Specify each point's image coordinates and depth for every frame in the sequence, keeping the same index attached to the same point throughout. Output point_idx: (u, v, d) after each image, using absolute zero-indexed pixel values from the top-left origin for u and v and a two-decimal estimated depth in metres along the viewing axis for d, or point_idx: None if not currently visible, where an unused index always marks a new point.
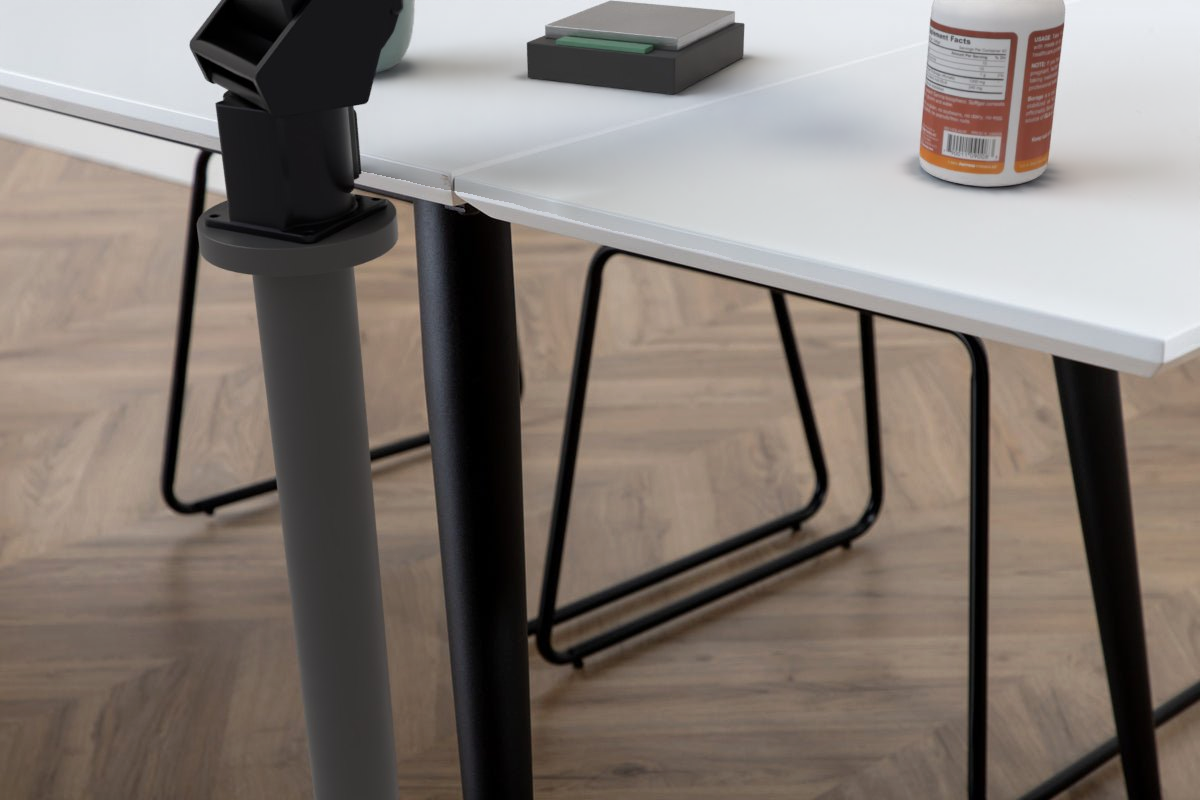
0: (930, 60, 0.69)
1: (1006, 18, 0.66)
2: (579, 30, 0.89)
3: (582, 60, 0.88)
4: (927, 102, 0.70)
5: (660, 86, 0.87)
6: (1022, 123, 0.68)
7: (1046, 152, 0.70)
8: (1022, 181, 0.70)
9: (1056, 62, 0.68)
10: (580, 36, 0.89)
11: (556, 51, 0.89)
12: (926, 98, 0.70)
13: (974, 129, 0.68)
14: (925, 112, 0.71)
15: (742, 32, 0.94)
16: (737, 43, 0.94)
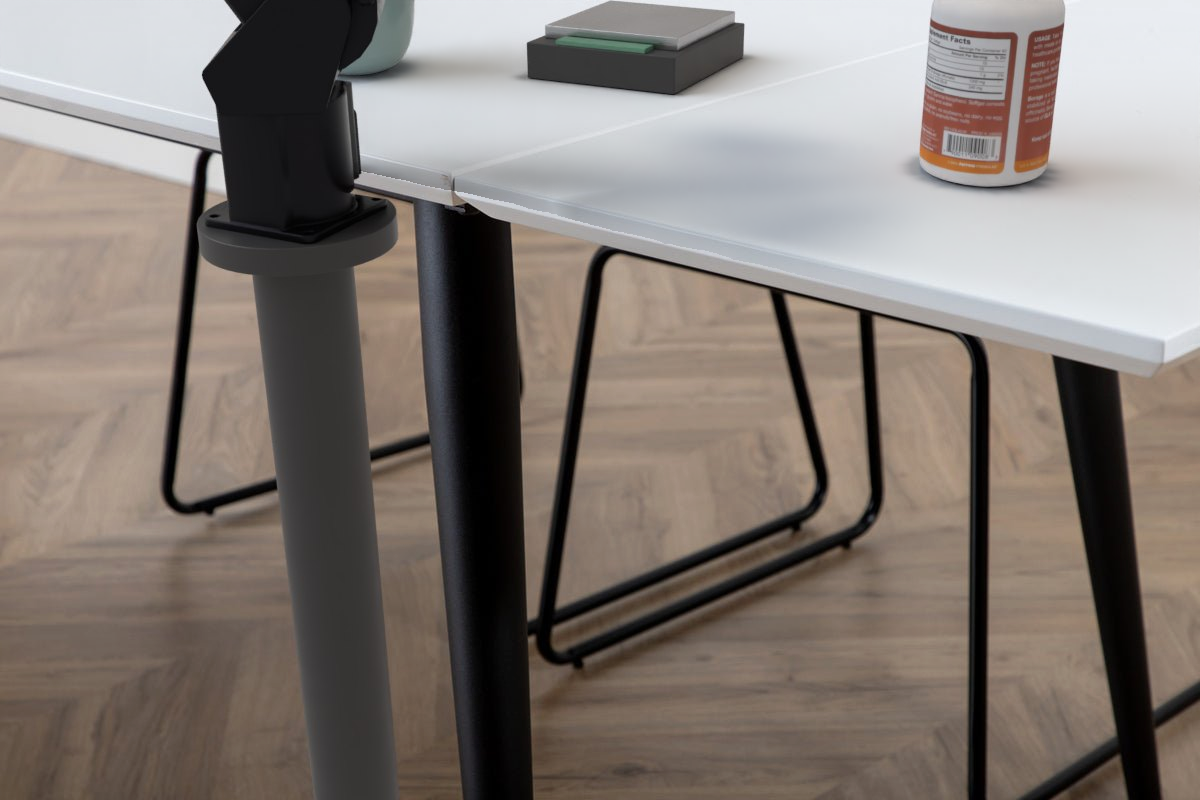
0: (930, 60, 0.69)
1: (1006, 18, 0.66)
2: (579, 30, 0.89)
3: (582, 60, 0.88)
4: (927, 102, 0.70)
5: (660, 86, 0.87)
6: (1022, 123, 0.68)
7: (1046, 152, 0.70)
8: (1022, 181, 0.70)
9: (1056, 62, 0.68)
10: (580, 36, 0.89)
11: (556, 51, 0.89)
12: (926, 98, 0.70)
13: (974, 129, 0.68)
14: (925, 112, 0.71)
15: (742, 32, 0.94)
16: (737, 43, 0.94)
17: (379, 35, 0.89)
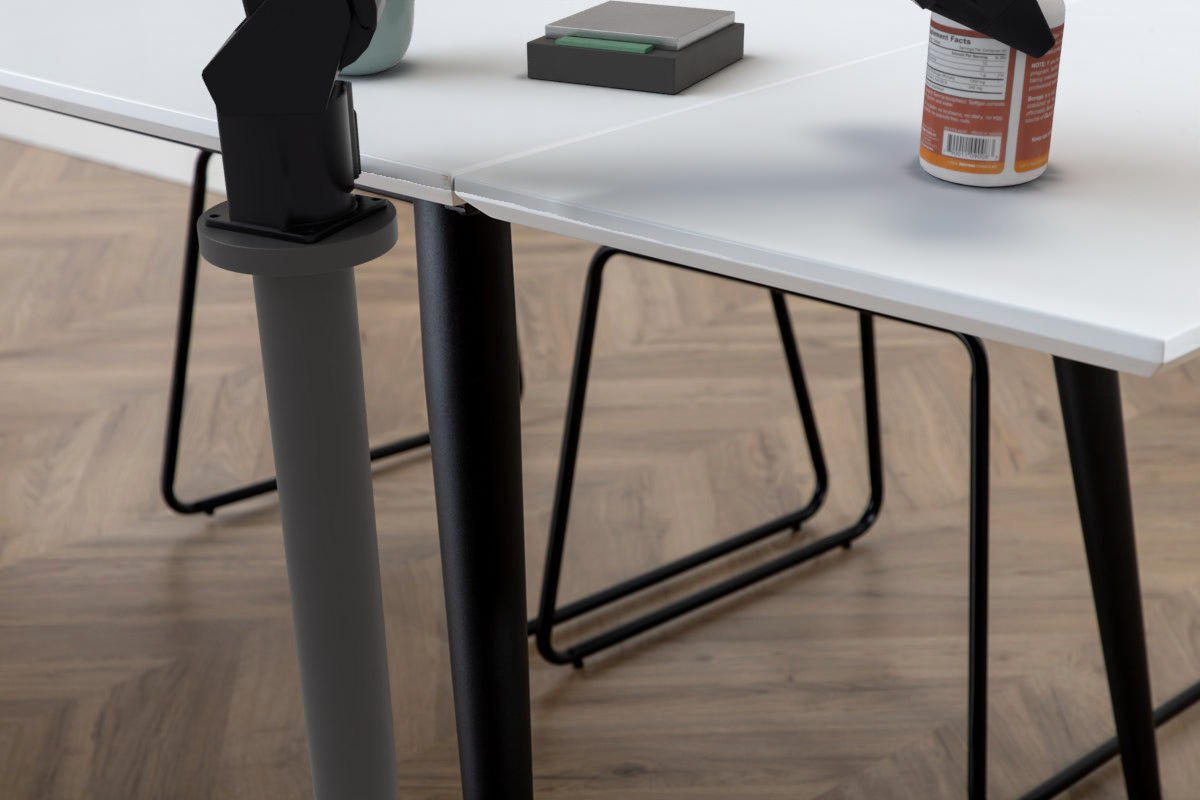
0: (930, 60, 0.69)
1: None
2: (579, 30, 0.89)
3: (582, 60, 0.88)
4: (927, 102, 0.70)
5: (660, 86, 0.87)
6: (1022, 123, 0.68)
7: (1046, 152, 0.70)
8: (1022, 181, 0.70)
9: (1056, 62, 0.68)
10: (580, 36, 0.89)
11: (556, 51, 0.89)
12: (926, 98, 0.70)
13: (974, 129, 0.68)
14: (925, 112, 0.71)
15: (742, 32, 0.94)
16: (737, 43, 0.94)
17: (379, 35, 0.89)
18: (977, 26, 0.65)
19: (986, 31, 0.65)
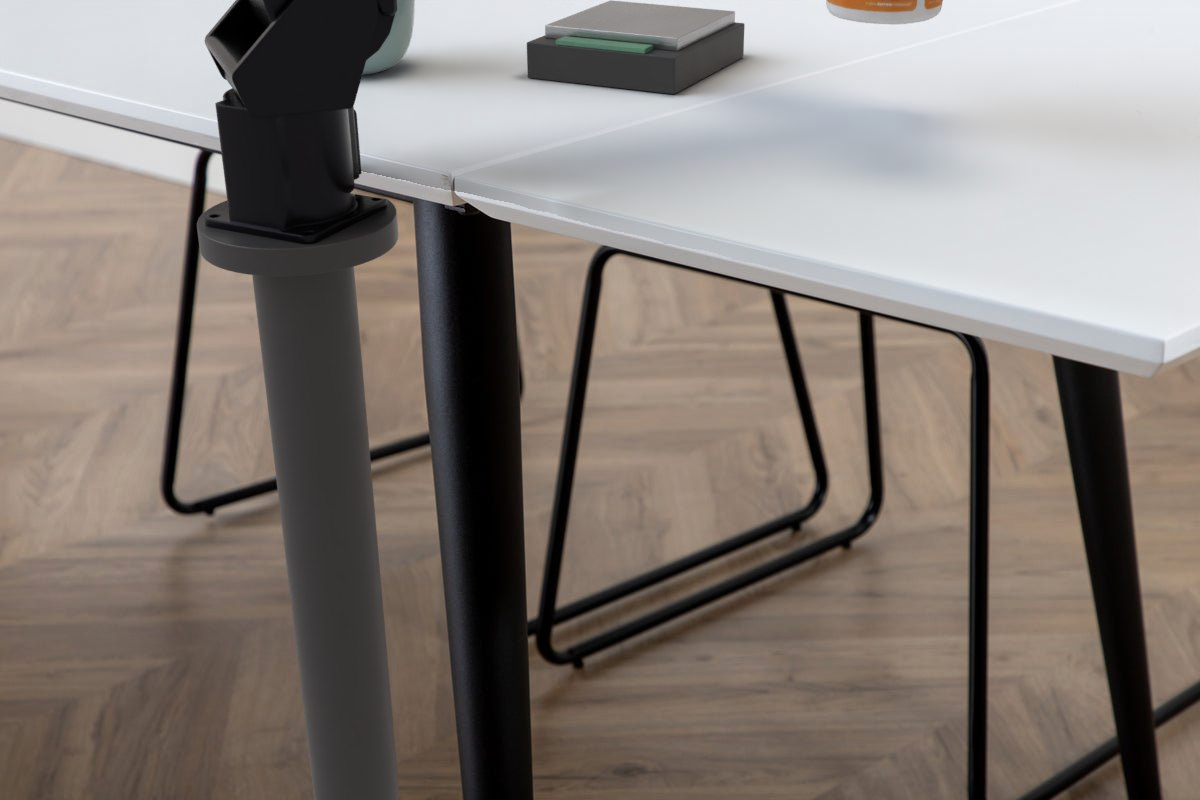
0: None
1: None
2: (579, 30, 0.89)
3: (582, 60, 0.88)
4: None
5: (660, 86, 0.87)
6: None
7: None
8: (929, 17, 0.77)
9: None
10: (580, 36, 0.89)
11: (556, 51, 0.89)
12: None
13: None
14: None
15: (742, 32, 0.94)
16: (737, 43, 0.94)
17: None
18: None
19: None
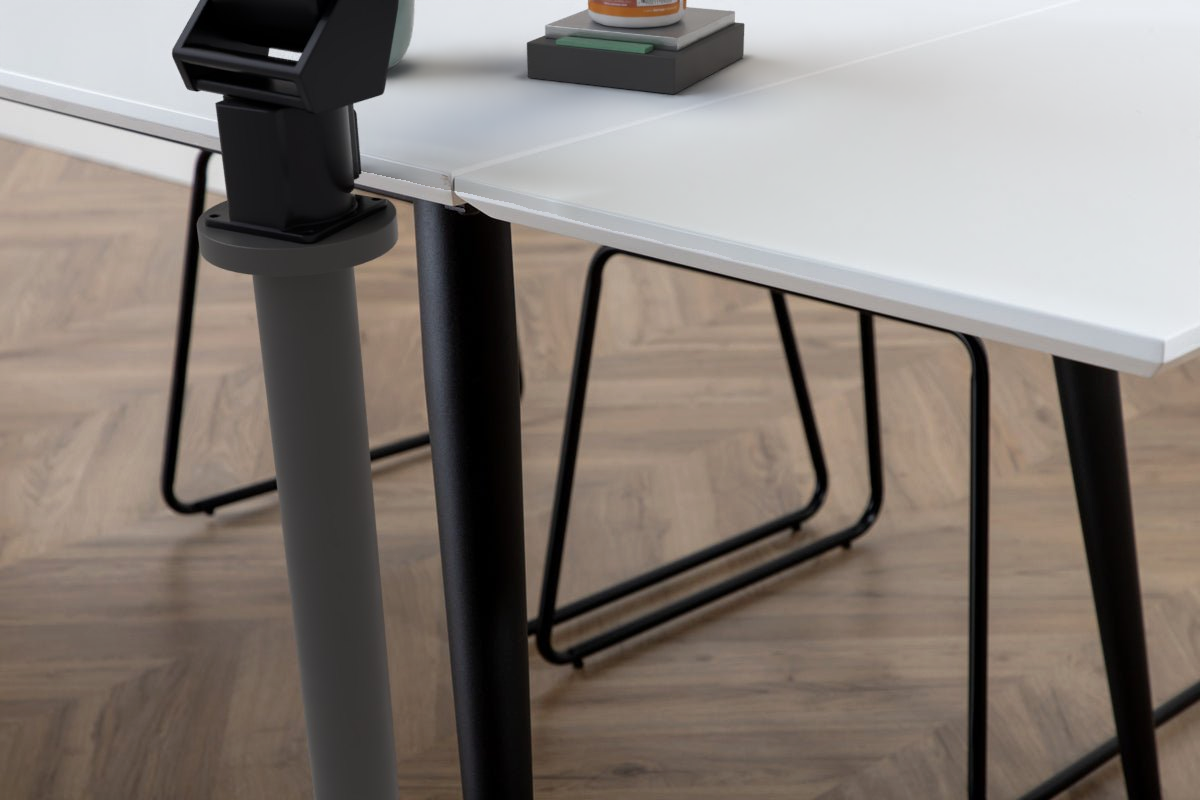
0: None
1: None
2: (579, 30, 0.89)
3: (582, 60, 0.88)
4: None
5: (660, 86, 0.87)
6: None
7: None
8: (683, 16, 0.91)
9: None
10: (580, 36, 0.89)
11: (556, 51, 0.89)
12: None
13: None
14: None
15: (742, 32, 0.94)
16: (737, 43, 0.94)
17: None
18: None
19: None
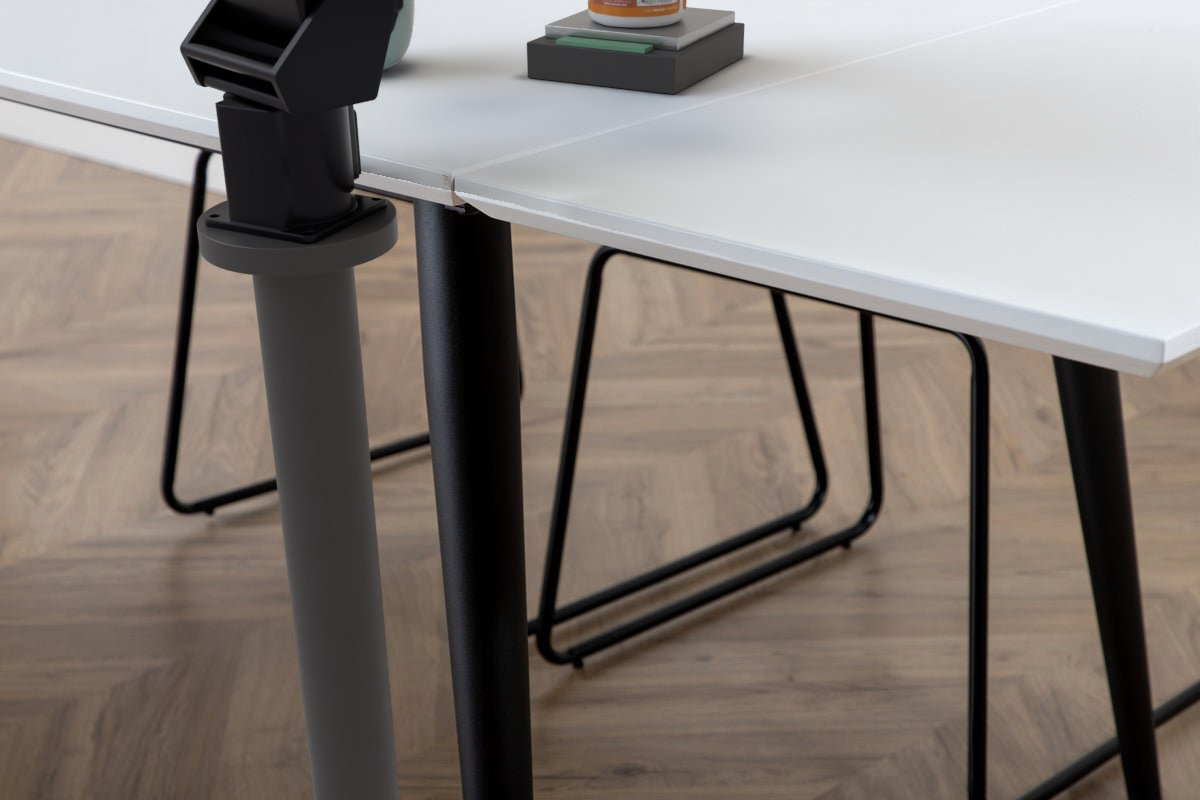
0: None
1: None
2: (579, 30, 0.89)
3: (582, 60, 0.88)
4: None
5: (660, 86, 0.87)
6: None
7: None
8: (683, 16, 0.91)
9: None
10: (580, 36, 0.89)
11: (556, 51, 0.89)
12: None
13: None
14: None
15: (742, 32, 0.94)
16: (737, 43, 0.94)
17: None
18: None
19: None
